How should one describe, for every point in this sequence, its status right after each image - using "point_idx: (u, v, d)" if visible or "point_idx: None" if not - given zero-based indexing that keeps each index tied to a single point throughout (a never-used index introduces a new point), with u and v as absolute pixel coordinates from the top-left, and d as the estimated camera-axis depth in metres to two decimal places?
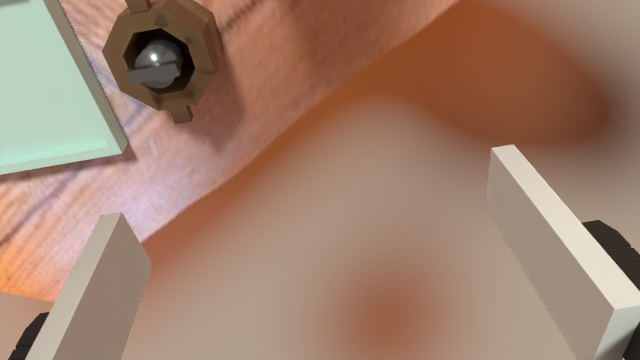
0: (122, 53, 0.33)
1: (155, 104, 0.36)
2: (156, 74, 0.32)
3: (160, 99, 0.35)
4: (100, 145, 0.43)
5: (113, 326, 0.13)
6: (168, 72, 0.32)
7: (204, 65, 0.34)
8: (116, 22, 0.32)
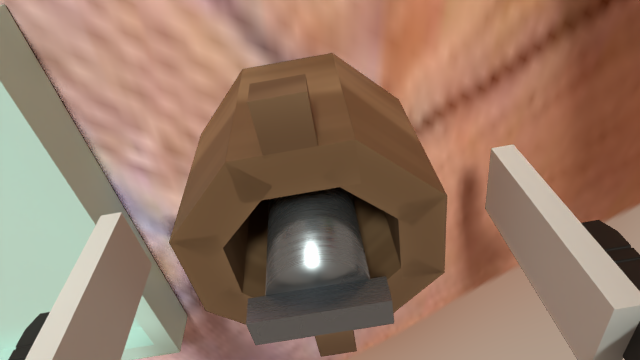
0: (223, 243, 0.12)
1: None
2: (331, 324, 0.11)
3: None
4: (137, 336, 0.22)
5: (112, 326, 0.13)
6: (366, 318, 0.11)
7: (425, 258, 0.13)
8: (218, 178, 0.11)
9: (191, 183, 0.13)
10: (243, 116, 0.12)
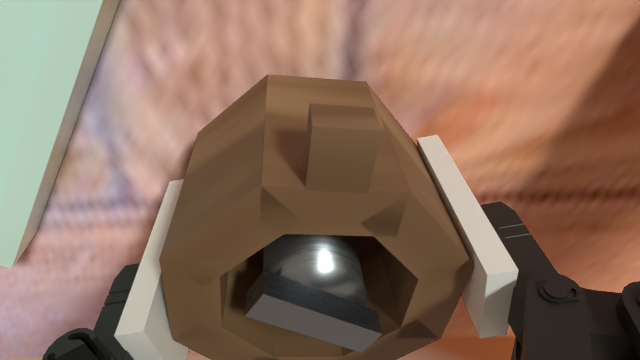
0: (221, 271, 0.10)
1: None
2: (322, 329, 0.12)
3: None
4: None
5: None
6: (349, 338, 0.12)
7: (428, 322, 0.12)
8: (245, 201, 0.09)
9: (191, 191, 0.11)
10: (275, 132, 0.11)
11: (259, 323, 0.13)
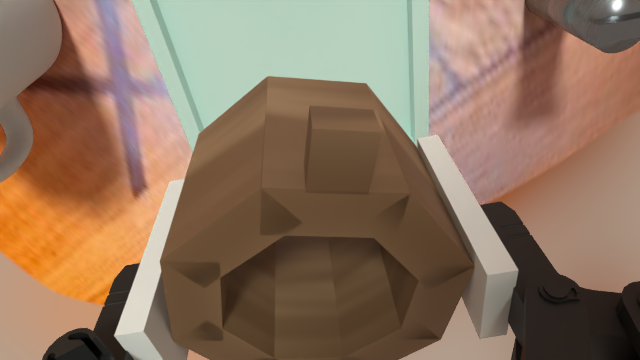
0: (222, 273, 0.10)
1: None
2: (639, 29, 0.21)
3: None
4: None
5: None
6: None
7: (428, 323, 0.12)
8: (245, 203, 0.09)
9: (192, 193, 0.12)
10: (275, 133, 0.11)
11: (259, 324, 0.13)
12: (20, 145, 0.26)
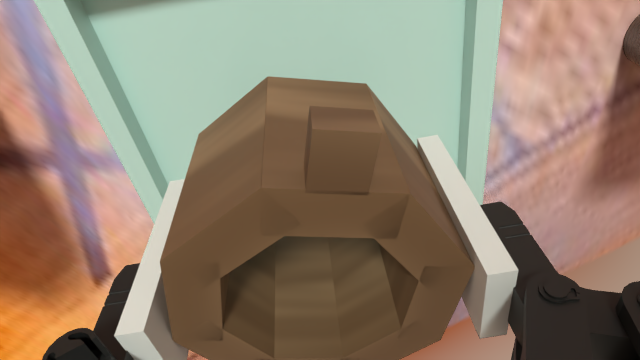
0: (222, 273, 0.10)
1: None
2: None
3: None
4: None
5: None
6: None
7: (428, 324, 0.12)
8: (245, 203, 0.09)
9: (192, 193, 0.12)
10: (275, 134, 0.11)
11: (259, 325, 0.13)
12: None
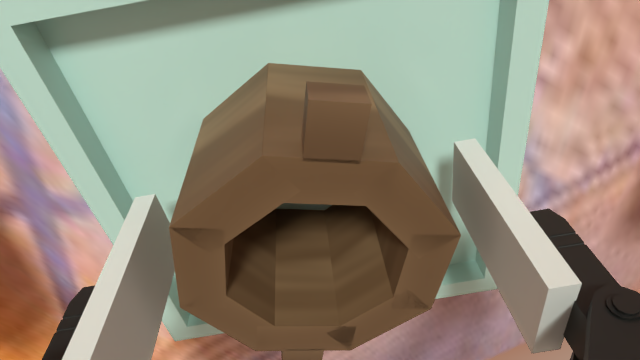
0: (226, 239, 0.11)
1: (255, 340, 0.14)
2: None
3: (272, 333, 0.14)
4: (459, 272, 0.21)
5: (151, 300, 0.13)
6: None
7: (419, 292, 0.13)
8: (248, 171, 0.10)
9: (198, 168, 0.12)
10: (275, 111, 0.12)
11: (261, 295, 0.14)
12: None
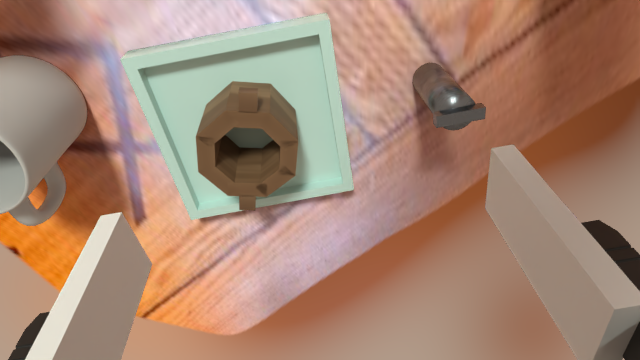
0: (215, 141, 0.33)
1: (227, 190, 0.36)
2: (464, 118, 0.32)
3: (234, 186, 0.36)
4: (332, 182, 0.43)
5: (113, 326, 0.13)
6: (475, 115, 0.32)
7: (288, 167, 0.35)
8: (221, 115, 0.32)
9: (204, 119, 0.34)
10: (232, 98, 0.34)
11: (229, 172, 0.36)
12: (57, 193, 0.37)
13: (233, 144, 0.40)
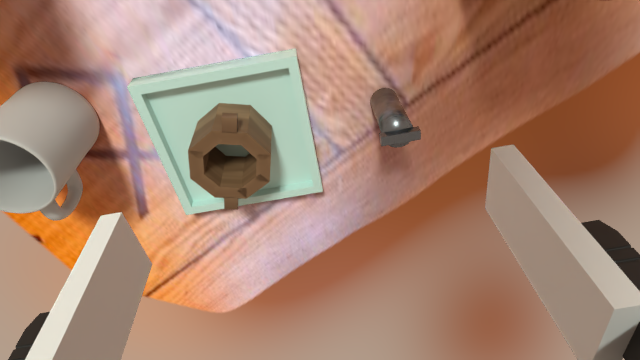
0: (203, 155, 0.41)
1: (214, 192, 0.44)
2: (403, 138, 0.40)
3: (219, 190, 0.44)
4: (304, 184, 0.51)
5: (113, 326, 0.13)
6: (413, 137, 0.40)
7: (263, 175, 0.43)
8: (208, 135, 0.40)
9: (195, 136, 0.42)
10: (217, 119, 0.41)
11: (216, 178, 0.44)
12: (76, 193, 0.45)
13: (220, 153, 0.48)
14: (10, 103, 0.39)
